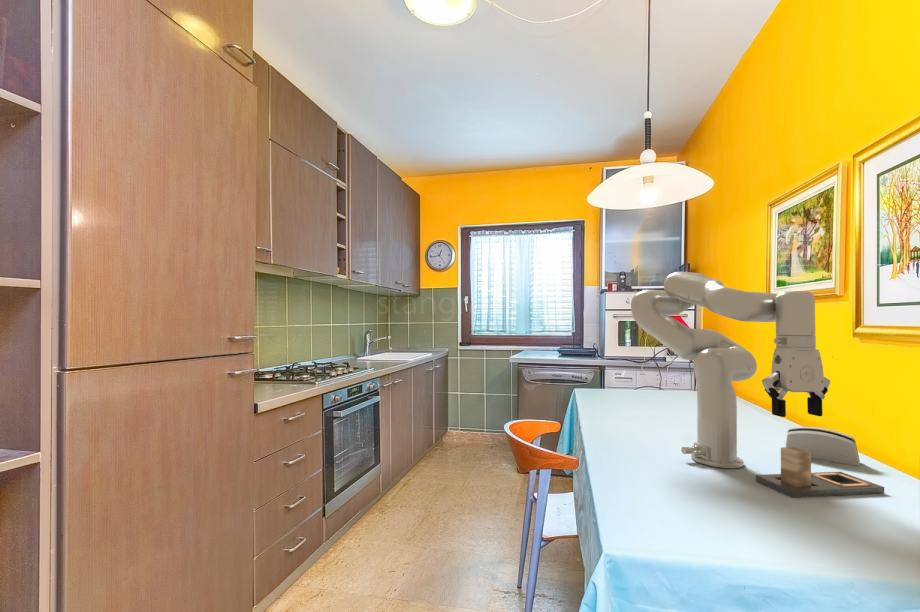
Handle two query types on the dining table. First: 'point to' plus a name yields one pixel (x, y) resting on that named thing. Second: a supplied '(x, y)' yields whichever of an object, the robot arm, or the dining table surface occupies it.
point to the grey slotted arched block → (824, 444)
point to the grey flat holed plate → (822, 485)
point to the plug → (796, 466)
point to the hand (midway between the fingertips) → (796, 415)
